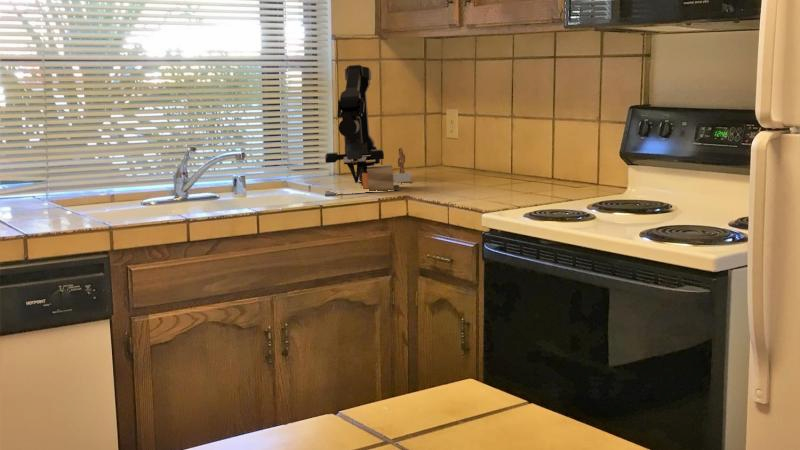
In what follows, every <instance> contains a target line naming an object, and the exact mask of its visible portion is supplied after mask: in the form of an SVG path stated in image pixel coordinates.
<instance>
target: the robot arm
mask: <svg viewBox="0 0 800 450" xmlns="http://www.w3.org/2000/svg"><path fill="white" fill-rule="evenodd" d="M344 79H345V82H346V84H345V89H344V90H343V91H342V92H341V93H340V96H339V99H337V101H338V102H337V118H338V119H339V118H342V120H341V121H340V122H339V123H338V132H339V133H340V135H342V136H343V139H344V153H342V154H341V153H339V152H338V151H335V152H326V154H325V155H324V158H325V160H324V161H325V164H330V163H331V164H333V163H336V162H337V161H342V160H343V165H347V167H348V168H349V171H350V172H351V175H352V178H353V179H354V182H355V184H358V180H360V181H361V175H362V172H366V171H367V166H375V165H379V164H381V160H384V159H385V155H384V150H383V149H380V148H377V146H376V145H375V144H376V143H375V140H374V139H373V137H371V135H370V126H369V125H370V124H369V114H368V113H369V111H368V101H367V99H368V98H367V92H368V90H369V87H370V86H371V80H372V71H371V69H370V67H368V66H363V65H361V64H349V65H348V66H346V68H345V69H344ZM355 166H356V169H355Z"/></svg>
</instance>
